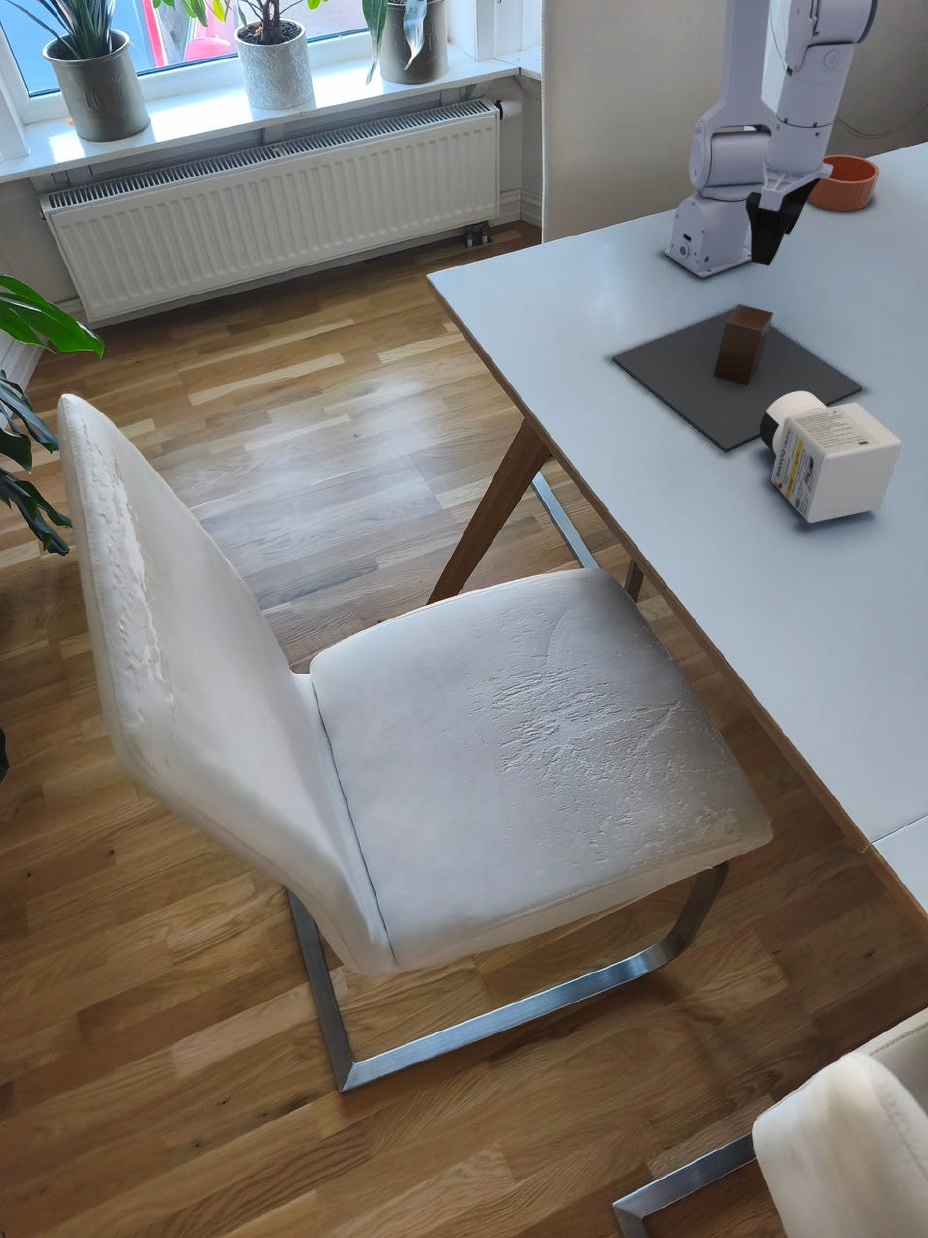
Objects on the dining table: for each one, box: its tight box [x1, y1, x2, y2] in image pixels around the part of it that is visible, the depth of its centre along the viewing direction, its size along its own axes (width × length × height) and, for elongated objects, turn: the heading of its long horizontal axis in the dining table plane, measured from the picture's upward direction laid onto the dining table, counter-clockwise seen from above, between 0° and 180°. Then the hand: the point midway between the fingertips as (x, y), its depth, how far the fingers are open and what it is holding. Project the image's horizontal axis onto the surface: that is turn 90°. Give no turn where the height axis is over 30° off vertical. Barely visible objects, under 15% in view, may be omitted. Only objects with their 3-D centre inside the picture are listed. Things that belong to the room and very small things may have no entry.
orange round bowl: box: [807, 154, 880, 212], centre depth 123 cm, size 9×9×4 cm
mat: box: [611, 308, 863, 452], centre depth 99 cm, size 20×20×1 cm
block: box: [714, 303, 774, 385], centre depth 96 cm, size 4×4×7 cm
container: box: [759, 391, 903, 524], centre depth 84 cm, size 8×8×13 cm
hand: (771, 246), depth 96 cm, fingers open, 7 cm apart
